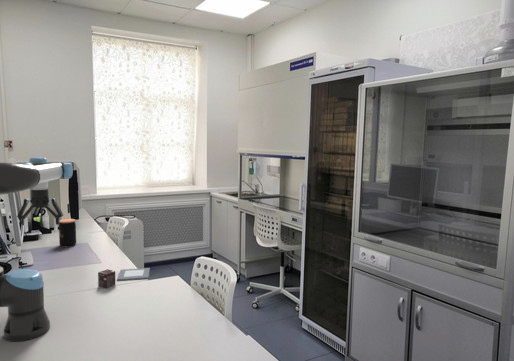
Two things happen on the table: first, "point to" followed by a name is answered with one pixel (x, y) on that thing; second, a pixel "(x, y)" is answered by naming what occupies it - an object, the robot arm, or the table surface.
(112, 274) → the box
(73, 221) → the coffee jar
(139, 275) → the mat
